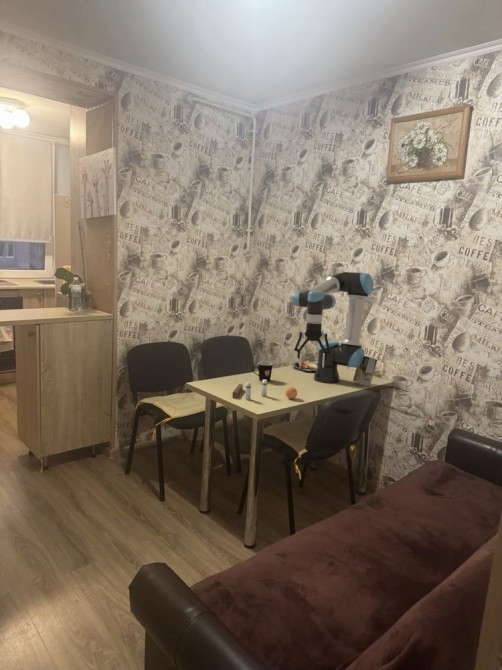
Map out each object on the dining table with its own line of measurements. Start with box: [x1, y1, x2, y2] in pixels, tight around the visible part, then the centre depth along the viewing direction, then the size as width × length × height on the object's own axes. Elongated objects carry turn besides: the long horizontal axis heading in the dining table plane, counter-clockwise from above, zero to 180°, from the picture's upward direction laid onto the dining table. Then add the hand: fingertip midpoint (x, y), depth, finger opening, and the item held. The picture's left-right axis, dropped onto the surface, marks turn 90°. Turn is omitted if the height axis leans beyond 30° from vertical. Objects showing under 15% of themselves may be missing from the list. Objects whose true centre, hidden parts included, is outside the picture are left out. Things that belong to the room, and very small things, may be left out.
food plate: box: [291, 359, 318, 372], centre depth 306 cm, size 25×23×4 cm
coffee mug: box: [251, 361, 274, 383], centre depth 271 cm, size 12×9×10 cm
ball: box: [284, 386, 298, 400], centre depth 238 cm, size 6×6×6 cm
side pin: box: [245, 381, 252, 401], centre depth 233 cm, size 2×2×8 cm
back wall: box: [232, 383, 244, 399], centre depth 243 cm, size 2×16×3 cm, turn 170°
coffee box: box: [352, 355, 378, 387], centre depth 269 cm, size 9×6×16 cm
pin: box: [261, 380, 268, 398], centre depth 240 cm, size 2×2×8 cm
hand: (311, 365), depth 234 cm, fingers open, 11 cm apart
